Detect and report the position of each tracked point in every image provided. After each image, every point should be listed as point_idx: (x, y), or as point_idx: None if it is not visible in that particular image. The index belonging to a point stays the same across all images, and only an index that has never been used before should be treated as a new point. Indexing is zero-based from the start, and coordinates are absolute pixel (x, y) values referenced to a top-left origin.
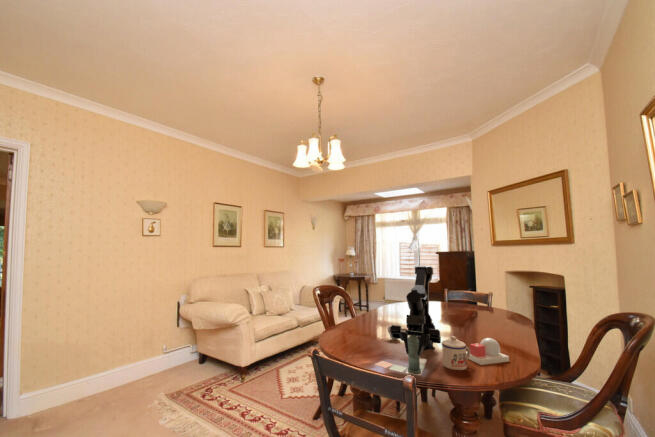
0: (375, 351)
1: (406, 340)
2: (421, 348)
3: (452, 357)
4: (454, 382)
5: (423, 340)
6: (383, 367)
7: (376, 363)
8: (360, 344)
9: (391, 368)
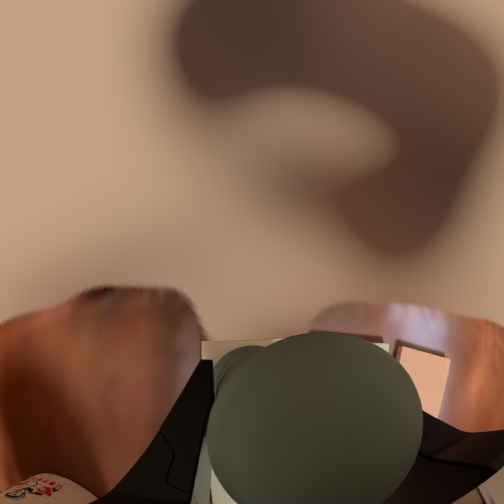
0: None
1: None
2: (175, 405)
3: (32, 498)
4: (45, 335)
5: (134, 495)
6: (412, 349)
7: (446, 375)
8: None
9: None
